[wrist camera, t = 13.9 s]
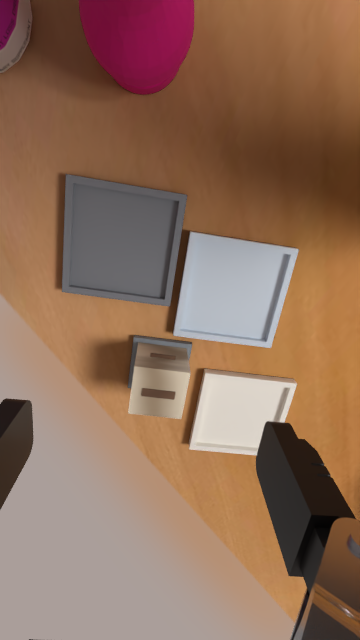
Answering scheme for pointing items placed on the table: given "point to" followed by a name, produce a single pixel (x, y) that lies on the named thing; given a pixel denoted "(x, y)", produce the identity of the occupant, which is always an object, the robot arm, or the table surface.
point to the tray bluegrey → (232, 289)
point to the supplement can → (14, 31)
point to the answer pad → (159, 342)
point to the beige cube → (159, 381)
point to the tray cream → (238, 410)
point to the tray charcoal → (121, 240)
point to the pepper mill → (139, 39)
